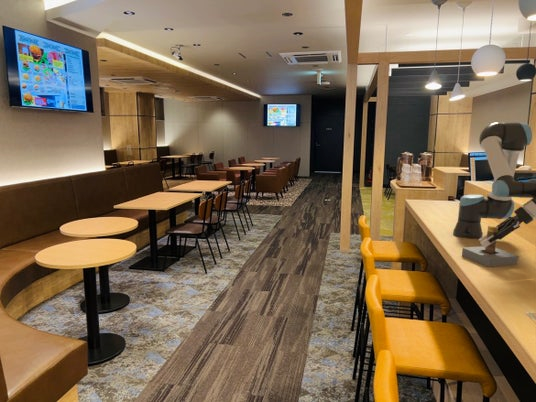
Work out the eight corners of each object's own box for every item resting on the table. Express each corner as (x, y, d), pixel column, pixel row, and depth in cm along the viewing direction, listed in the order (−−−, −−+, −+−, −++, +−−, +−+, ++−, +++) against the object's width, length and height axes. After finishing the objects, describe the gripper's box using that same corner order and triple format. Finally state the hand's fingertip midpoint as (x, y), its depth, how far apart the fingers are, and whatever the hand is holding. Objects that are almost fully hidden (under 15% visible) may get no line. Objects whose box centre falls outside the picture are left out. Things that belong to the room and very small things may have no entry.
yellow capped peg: (488, 258, 183) (493, 225, 180) (495, 261, 179) (500, 227, 176) (481, 259, 182) (485, 226, 179) (488, 261, 178) (492, 228, 175)
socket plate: (489, 253, 190) (490, 245, 190) (517, 264, 175) (518, 256, 174) (461, 255, 186) (462, 247, 185) (488, 267, 171) (489, 258, 170)
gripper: (539, 223, 163) (490, 255, 172) (529, 214, 179) (484, 244, 188) (526, 210, 164) (478, 242, 173) (517, 202, 180) (473, 232, 189)
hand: (481, 243), depth 181 cm, fingers open, 5 cm apart
